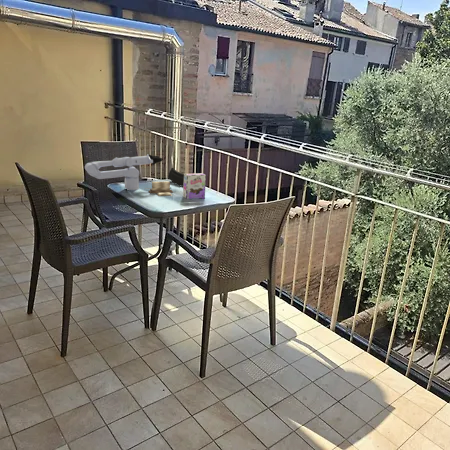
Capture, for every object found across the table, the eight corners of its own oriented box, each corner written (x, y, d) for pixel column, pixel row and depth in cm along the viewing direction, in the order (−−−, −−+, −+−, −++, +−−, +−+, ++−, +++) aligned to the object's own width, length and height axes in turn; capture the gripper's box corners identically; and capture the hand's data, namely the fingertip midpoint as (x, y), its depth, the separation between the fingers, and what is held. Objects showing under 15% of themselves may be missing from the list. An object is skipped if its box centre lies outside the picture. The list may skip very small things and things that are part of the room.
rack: (150, 194, 278) (150, 190, 277) (148, 192, 283) (148, 189, 282) (173, 193, 285) (173, 190, 284) (170, 191, 289) (170, 188, 288)
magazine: (195, 177, 299) (174, 159, 318) (191, 177, 297) (171, 159, 316) (190, 197, 308) (171, 179, 327) (186, 198, 306) (167, 179, 325)
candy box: (186, 199, 271) (186, 175, 266) (182, 197, 276) (183, 173, 271) (205, 198, 277) (206, 174, 272) (201, 196, 282) (202, 172, 277)
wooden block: (152, 194, 280) (152, 182, 278) (151, 193, 282) (152, 181, 280) (169, 193, 285) (169, 182, 283) (168, 192, 287) (169, 181, 285)
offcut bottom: (157, 198, 273) (157, 196, 272) (156, 196, 276) (156, 194, 276) (172, 197, 277) (172, 195, 276) (170, 196, 280) (170, 193, 280)
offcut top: (159, 195, 273) (159, 194, 273) (157, 194, 276) (157, 192, 276) (170, 195, 276) (170, 193, 276) (169, 194, 279) (169, 192, 279)
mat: (147, 191, 286) (147, 190, 285) (144, 189, 292) (144, 188, 292) (169, 190, 292) (169, 190, 292) (166, 188, 299) (166, 187, 299)
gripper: (143, 156, 277) (163, 154, 282) (138, 153, 289) (157, 151, 295) (144, 166, 279) (163, 164, 284) (139, 163, 292) (158, 161, 297)
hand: (160, 158), depth 290 cm, fingers open, 7 cm apart
